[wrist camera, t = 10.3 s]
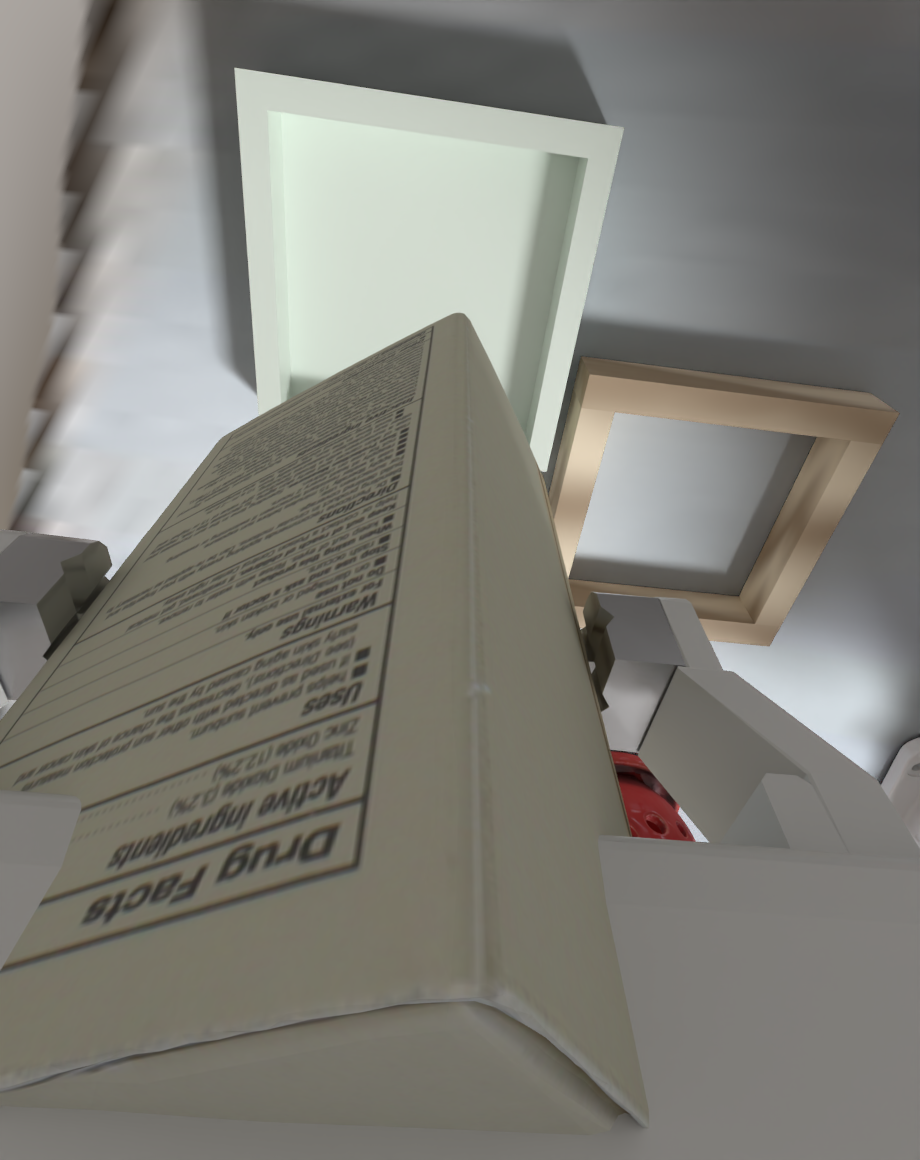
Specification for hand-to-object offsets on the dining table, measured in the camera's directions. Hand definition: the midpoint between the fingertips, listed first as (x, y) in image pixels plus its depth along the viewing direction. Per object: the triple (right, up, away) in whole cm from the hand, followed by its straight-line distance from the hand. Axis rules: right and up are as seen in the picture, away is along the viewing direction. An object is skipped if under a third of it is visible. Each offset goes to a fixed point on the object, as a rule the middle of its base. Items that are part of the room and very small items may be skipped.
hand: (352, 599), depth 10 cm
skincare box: (0, +3, +4) cm, 6 cm away
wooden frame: (+13, +4, +24) cm, 28 cm away
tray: (0, +13, +17) cm, 22 cm away
